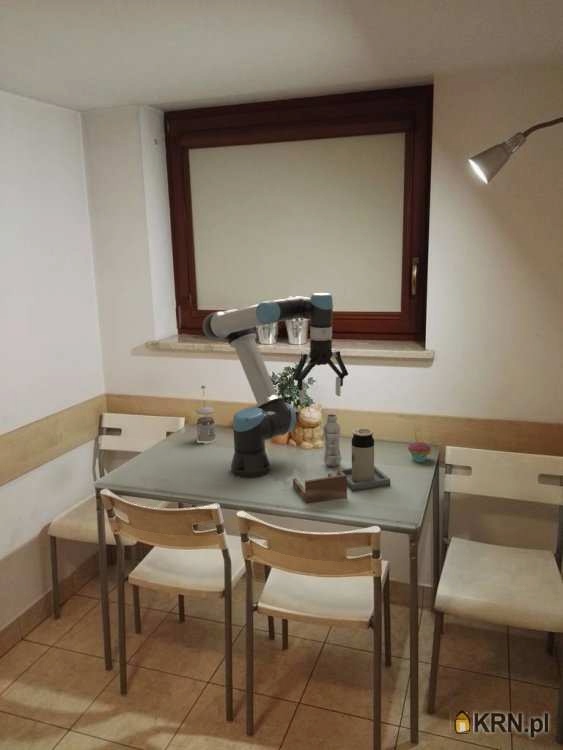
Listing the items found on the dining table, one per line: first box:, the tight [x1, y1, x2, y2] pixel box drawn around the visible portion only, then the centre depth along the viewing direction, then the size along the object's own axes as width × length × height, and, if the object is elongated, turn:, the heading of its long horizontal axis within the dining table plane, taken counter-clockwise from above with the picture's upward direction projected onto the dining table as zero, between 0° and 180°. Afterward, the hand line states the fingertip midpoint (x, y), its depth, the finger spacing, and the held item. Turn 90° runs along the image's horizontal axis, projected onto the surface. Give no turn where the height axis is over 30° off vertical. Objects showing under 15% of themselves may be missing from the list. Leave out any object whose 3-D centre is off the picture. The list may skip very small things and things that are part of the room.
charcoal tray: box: [336, 465, 391, 492], centre depth 221 cm, size 14×14×2 cm
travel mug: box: [351, 427, 375, 482], centre depth 219 cm, size 8×8×18 cm
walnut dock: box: [292, 473, 348, 505], centre depth 212 cm, size 15×14×8 cm
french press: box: [195, 385, 216, 441], centre depth 267 cm, size 10×12×25 cm
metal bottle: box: [322, 413, 342, 467], centre depth 235 cm, size 6×7×20 cm
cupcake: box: [407, 431, 432, 463], centre depth 238 cm, size 9×8×12 cm
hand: (320, 397), depth 218 cm, fingers open, 13 cm apart
